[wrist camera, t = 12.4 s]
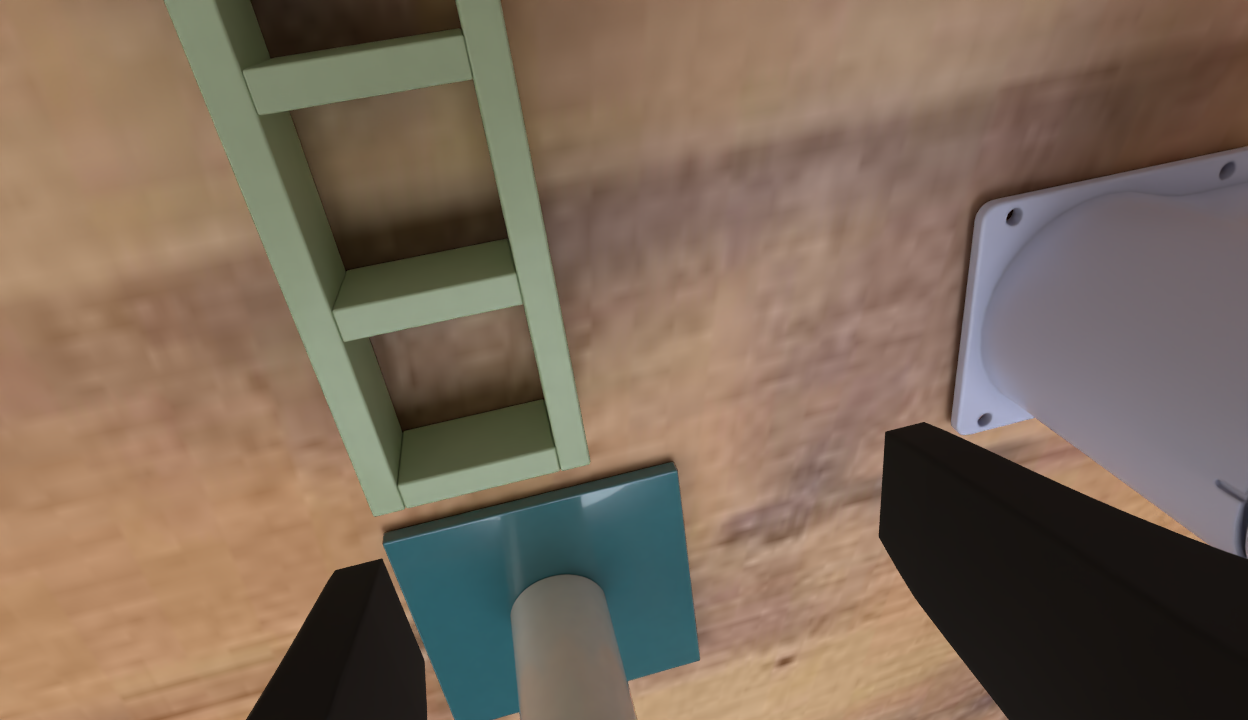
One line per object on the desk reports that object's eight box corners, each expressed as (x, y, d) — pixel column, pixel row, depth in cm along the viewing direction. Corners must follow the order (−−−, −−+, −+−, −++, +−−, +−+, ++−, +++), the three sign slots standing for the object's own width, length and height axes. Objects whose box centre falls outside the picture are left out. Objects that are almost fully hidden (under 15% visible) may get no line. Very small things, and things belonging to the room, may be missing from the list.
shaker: (600, 561, 23) (650, 750, 17) (614, 630, 24) (664, 824, 19) (498, 587, 22) (515, 791, 17) (519, 656, 24) (542, 862, 18)
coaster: (673, 460, 22) (677, 470, 22) (696, 650, 26) (700, 660, 26) (382, 532, 21) (381, 543, 20) (457, 717, 25) (458, 730, 25)
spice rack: (440, -264, 13) (439, -314, 11) (576, 414, 20) (591, 464, 18) (120, -229, 12) (50, -276, 10) (381, 460, 20) (373, 517, 18)
